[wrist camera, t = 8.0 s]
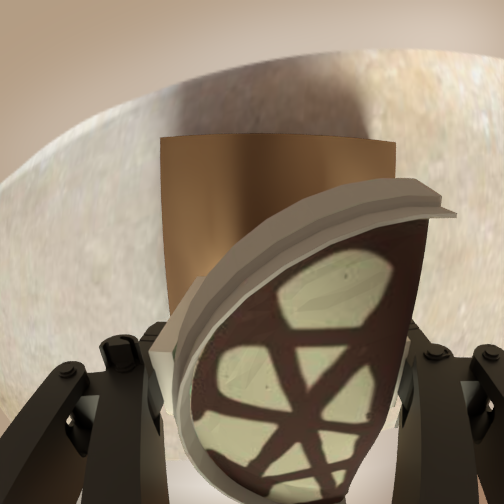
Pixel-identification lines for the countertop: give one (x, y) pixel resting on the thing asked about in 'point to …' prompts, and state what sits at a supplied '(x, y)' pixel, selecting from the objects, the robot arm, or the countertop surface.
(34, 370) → the countertop surface
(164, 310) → the countertop surface
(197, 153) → the walnut block
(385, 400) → the food container
